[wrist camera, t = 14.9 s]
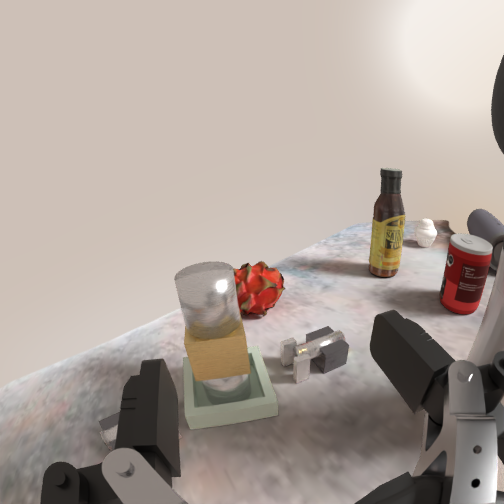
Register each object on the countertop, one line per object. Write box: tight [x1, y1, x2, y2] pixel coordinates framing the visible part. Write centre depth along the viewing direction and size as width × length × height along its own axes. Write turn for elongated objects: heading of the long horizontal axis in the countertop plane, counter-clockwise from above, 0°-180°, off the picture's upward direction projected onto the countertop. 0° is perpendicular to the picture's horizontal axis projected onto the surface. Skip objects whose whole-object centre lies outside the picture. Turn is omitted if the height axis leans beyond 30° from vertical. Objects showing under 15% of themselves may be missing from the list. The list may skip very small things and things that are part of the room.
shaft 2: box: [281, 326, 349, 383], centre depth 32 cm, size 7×4×3 cm, turn 111°
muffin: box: [414, 219, 437, 247], centre depth 61 cm, size 6×6×7 cm
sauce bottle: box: [369, 168, 405, 277], centre depth 49 cm, size 6×6×20 cm
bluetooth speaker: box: [467, 209, 504, 271], centre depth 51 cm, size 23×9×10 cm, turn 151°
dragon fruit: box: [233, 261, 285, 316], centre depth 44 cm, size 8×8×12 cm
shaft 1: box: [99, 412, 182, 450], centre depth 22 cm, size 7×4×3 cm, turn 131°
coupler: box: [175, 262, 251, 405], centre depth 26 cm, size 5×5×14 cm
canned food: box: [440, 234, 493, 314], centre depth 37 cm, size 8×8×11 cm
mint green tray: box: [183, 346, 278, 430], centre depth 29 cm, size 9×9×2 cm
